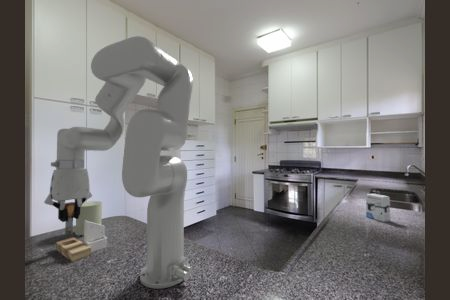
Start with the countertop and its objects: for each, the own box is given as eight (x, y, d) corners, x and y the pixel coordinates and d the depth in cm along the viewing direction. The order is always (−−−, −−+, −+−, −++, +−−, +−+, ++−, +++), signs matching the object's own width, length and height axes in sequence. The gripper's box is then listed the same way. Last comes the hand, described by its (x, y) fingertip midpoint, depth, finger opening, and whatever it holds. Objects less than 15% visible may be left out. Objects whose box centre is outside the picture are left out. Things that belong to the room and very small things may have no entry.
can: (99, 233, 81) (99, 203, 81) (71, 237, 77) (72, 206, 77) (103, 226, 89) (104, 199, 89) (79, 228, 86) (79, 201, 86)
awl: (76, 232, 67) (76, 202, 68) (65, 235, 65) (66, 204, 65) (72, 230, 69) (73, 201, 69) (61, 233, 67) (62, 203, 67)
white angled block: (68, 247, 63) (84, 220, 67) (97, 252, 70) (111, 227, 74) (72, 251, 61) (89, 222, 64) (102, 255, 68) (116, 229, 71)
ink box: (365, 216, 102) (365, 193, 102) (372, 215, 103) (372, 193, 104) (383, 222, 94) (382, 197, 94) (390, 221, 95) (390, 196, 95)
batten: (91, 254, 63) (91, 247, 63) (72, 261, 59) (72, 253, 59) (73, 243, 71) (73, 237, 71) (55, 249, 67) (55, 242, 67)
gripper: (42, 166, 59) (40, 229, 58) (101, 164, 72) (100, 215, 72) (35, 165, 63) (33, 224, 62) (92, 164, 76) (91, 212, 76)
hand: (69, 219), depth 67 cm, fingers closed on awl, 3 cm apart
